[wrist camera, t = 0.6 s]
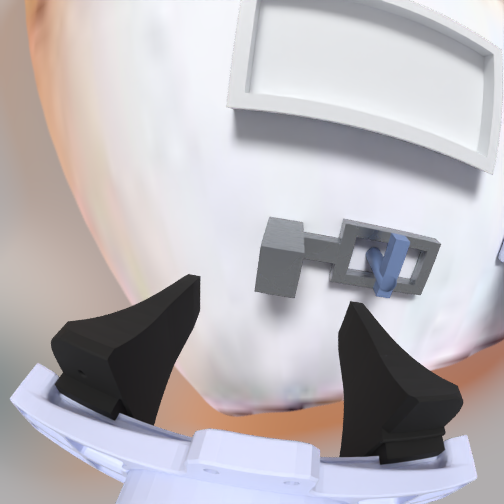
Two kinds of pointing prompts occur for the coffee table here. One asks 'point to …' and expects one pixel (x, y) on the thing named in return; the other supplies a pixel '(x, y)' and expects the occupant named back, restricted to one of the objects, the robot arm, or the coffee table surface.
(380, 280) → the t-stake
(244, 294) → the coffee table surface
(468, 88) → the tray
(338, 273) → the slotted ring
